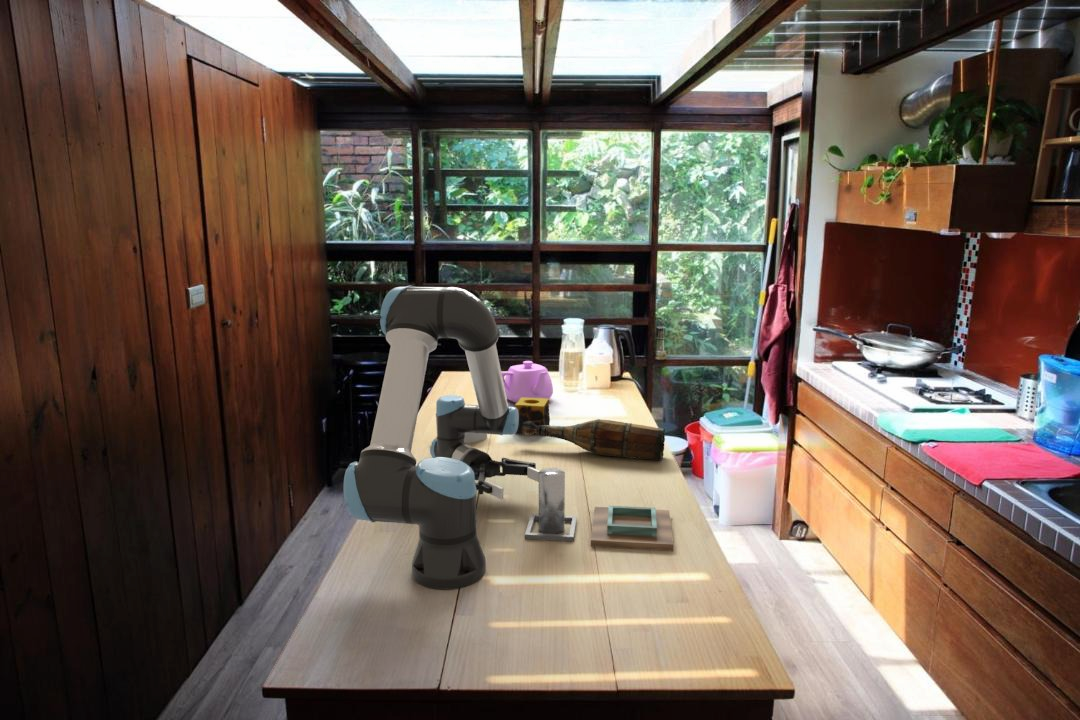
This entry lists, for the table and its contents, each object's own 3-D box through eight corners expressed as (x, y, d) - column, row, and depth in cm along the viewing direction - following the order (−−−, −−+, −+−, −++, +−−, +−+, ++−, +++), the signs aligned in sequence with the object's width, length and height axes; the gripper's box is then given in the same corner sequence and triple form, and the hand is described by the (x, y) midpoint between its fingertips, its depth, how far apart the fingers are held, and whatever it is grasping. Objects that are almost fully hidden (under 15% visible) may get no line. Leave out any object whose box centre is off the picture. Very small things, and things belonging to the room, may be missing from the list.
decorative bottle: (668, 442, 222) (527, 426, 235) (667, 418, 215) (522, 403, 228) (662, 470, 214) (517, 452, 228) (661, 446, 207) (511, 429, 221)
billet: (563, 535, 168) (563, 478, 165) (537, 534, 169) (537, 476, 166) (565, 524, 174) (565, 468, 171) (540, 523, 174) (540, 467, 171)
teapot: (489, 399, 281) (488, 360, 278) (538, 392, 291) (538, 355, 288) (515, 414, 262) (515, 373, 258) (566, 406, 271) (567, 366, 268)
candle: (544, 436, 238) (544, 406, 236) (514, 434, 240) (513, 404, 238) (550, 426, 247) (550, 398, 245) (521, 424, 249) (521, 396, 247)
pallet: (673, 550, 161) (673, 536, 160) (590, 546, 163) (590, 531, 162) (668, 516, 178) (669, 502, 177) (594, 512, 180) (594, 499, 180)
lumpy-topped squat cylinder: (449, 432, 242) (448, 407, 240) (488, 432, 241) (488, 407, 239) (444, 442, 231) (443, 416, 230) (485, 443, 231) (484, 416, 229)
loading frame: (573, 541, 165) (573, 537, 165) (524, 538, 167) (524, 534, 166) (576, 520, 176) (576, 516, 176) (531, 517, 177) (531, 514, 177)
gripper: (509, 464, 201) (562, 487, 186) (432, 488, 185) (483, 515, 170) (509, 438, 200) (562, 459, 184) (431, 460, 184) (482, 485, 168)
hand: (524, 486), depth 177 cm, fingers open, 13 cm apart
